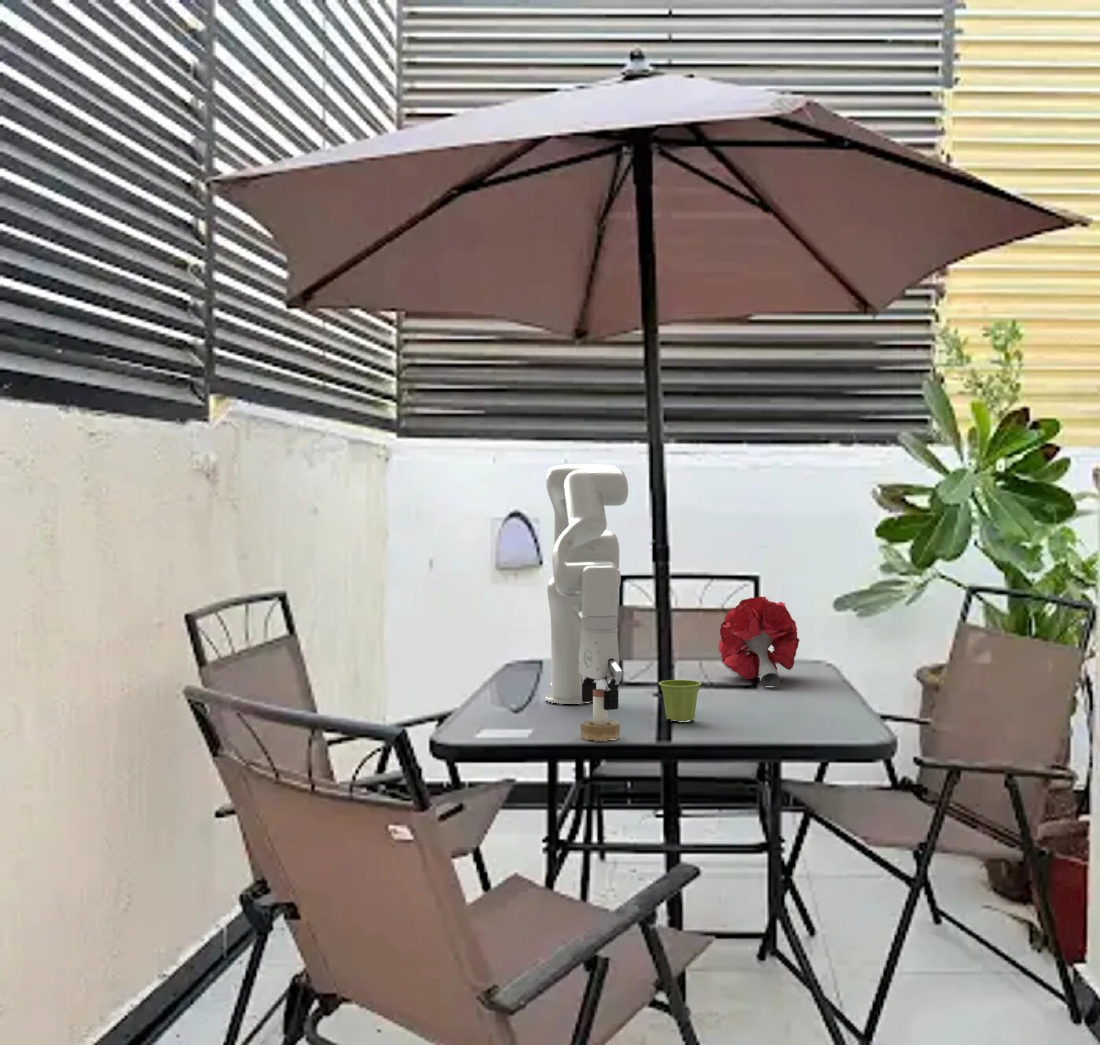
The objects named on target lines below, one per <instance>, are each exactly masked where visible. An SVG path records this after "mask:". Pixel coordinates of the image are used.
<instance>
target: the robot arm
mask: <svg viewBox="0 0 1100 1045" xmlns="http://www.w3.org/2000/svg"><path fill="white" fill-rule="evenodd" d="M545 482H546V483H545V484H546V489H547V493H548V496H549V500H550V502H551V505H552V508H553V512H554V530H553V531H554V536H553V537H554V541H553V542H554V544H553V545H554V546H553V550H552V556H551V557H552V571H553V572H552V573H553V576H552V577H551V578H550V579H549V580H548V583H547V588H546V589H547V598H548V600H547V601H548V605H549V614H550V636H551V638H550V642H551V643H550V644H551V645H550V649H551V651H550V652H551V654H550V656H551V660H550V661H551V662H550V663H551V666H550V667H551V669H550V670H551V674H550V675H551V676H550V677H551V678H550V679H551V683H550V684H549V688H551V694H550V693H549V694H547V695H545V698H544V699H545V702H546V701H548V702H547V703H549V702H551V703H550V704H553V703H557V704H556V705H563V704H578V703H585V702H593V690H594V689H597V682H598V681H601V680H602V684H603V686H604V689H606V690H605V691H604V710H608V711H614V710H618V709H619V691H620V689H621V688H620V686H621V683H622V677H623V670H622V669H621V667H620V657H619V656H620V655H619V654H620V653H619V651H620V650H619V641H618V633H617V632H618V631H619V588H620V587H621V581H622V578H621V571H620V570H621V569H620V543H619V540H618V536H617V535H616V534H615V533H614V532H613V531H612V530H607V526H608V525H607V524H608V523H607V517H606V510H605V506H606V507H607V506H609V507H611V506H615V507H617V506H619V507H620V506H623V505H624V504H625V503H627V499H628V498H629V497H628V496H629V483H628V479H627V476H626V474H625V472H624V471H623V470H622V469H621V468H619V467H618V466H616V465H614V464H561V465H555V466H552V467H550V468H549V469H548V470H547V472H546V477H545ZM580 613H581V616H580ZM595 681H597V682H595ZM558 703H559V704H558Z"/></svg>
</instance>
